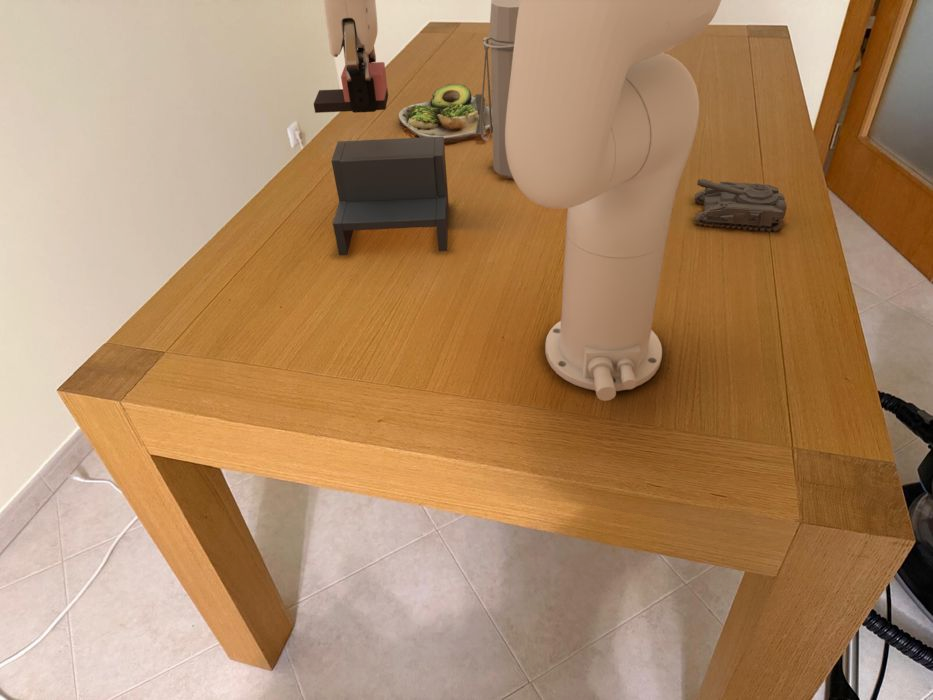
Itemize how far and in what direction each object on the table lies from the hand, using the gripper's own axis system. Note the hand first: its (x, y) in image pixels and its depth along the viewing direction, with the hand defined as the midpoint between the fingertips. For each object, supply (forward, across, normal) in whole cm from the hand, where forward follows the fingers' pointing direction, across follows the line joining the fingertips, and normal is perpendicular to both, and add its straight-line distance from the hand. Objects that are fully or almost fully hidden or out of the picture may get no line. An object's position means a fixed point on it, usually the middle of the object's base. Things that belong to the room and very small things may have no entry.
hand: (366, 101), depth 88 cm
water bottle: (+18, -14, +19) cm, 29 cm away
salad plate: (+18, -34, +9) cm, 39 cm away
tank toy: (+17, +3, +50) cm, 53 cm away
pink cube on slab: (0, 0, -2) cm, 2 cm away
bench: (+17, +3, +2) cm, 18 cm away
